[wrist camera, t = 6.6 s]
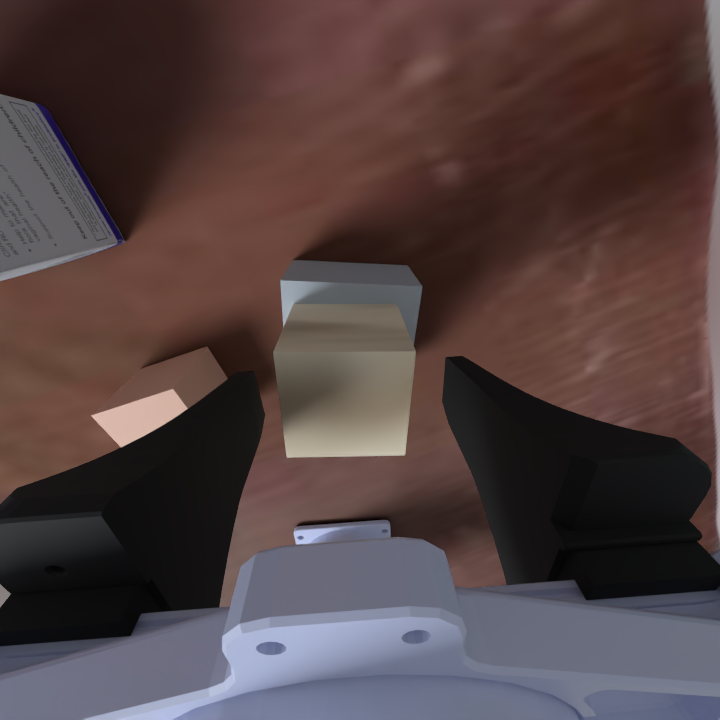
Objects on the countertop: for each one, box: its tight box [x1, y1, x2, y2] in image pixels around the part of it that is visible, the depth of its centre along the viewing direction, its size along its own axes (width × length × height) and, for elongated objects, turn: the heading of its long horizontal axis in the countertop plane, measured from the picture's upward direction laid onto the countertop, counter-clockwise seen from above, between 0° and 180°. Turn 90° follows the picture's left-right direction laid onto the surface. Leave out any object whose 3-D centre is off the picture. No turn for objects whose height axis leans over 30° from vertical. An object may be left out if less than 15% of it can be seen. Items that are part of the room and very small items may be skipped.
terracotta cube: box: [91, 347, 228, 447], centre depth 19 cm, size 4×4×4 cm
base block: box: [280, 260, 423, 345], centre depth 17 cm, size 6×6×4 cm
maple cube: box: [273, 304, 416, 457], centre depth 13 cm, size 4×4×4 cm
